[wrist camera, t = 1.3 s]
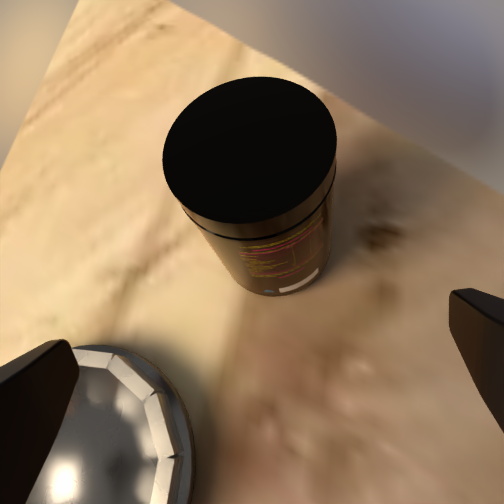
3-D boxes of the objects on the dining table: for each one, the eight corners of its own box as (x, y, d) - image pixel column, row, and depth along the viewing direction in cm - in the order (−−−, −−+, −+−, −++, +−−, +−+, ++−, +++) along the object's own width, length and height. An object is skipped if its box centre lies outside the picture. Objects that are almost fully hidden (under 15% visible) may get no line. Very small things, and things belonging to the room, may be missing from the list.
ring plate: (231, 552, 18) (219, 571, 16) (-14, 666, 18) (-57, 700, 16) (155, 312, 24) (139, 302, 22) (-35, 400, 24) (-70, 400, 22)
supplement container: (289, 182, 26) (269, 50, 16) (354, 258, 23) (377, 152, 13) (205, 238, 25) (133, 136, 16) (262, 322, 22) (216, 261, 13)
